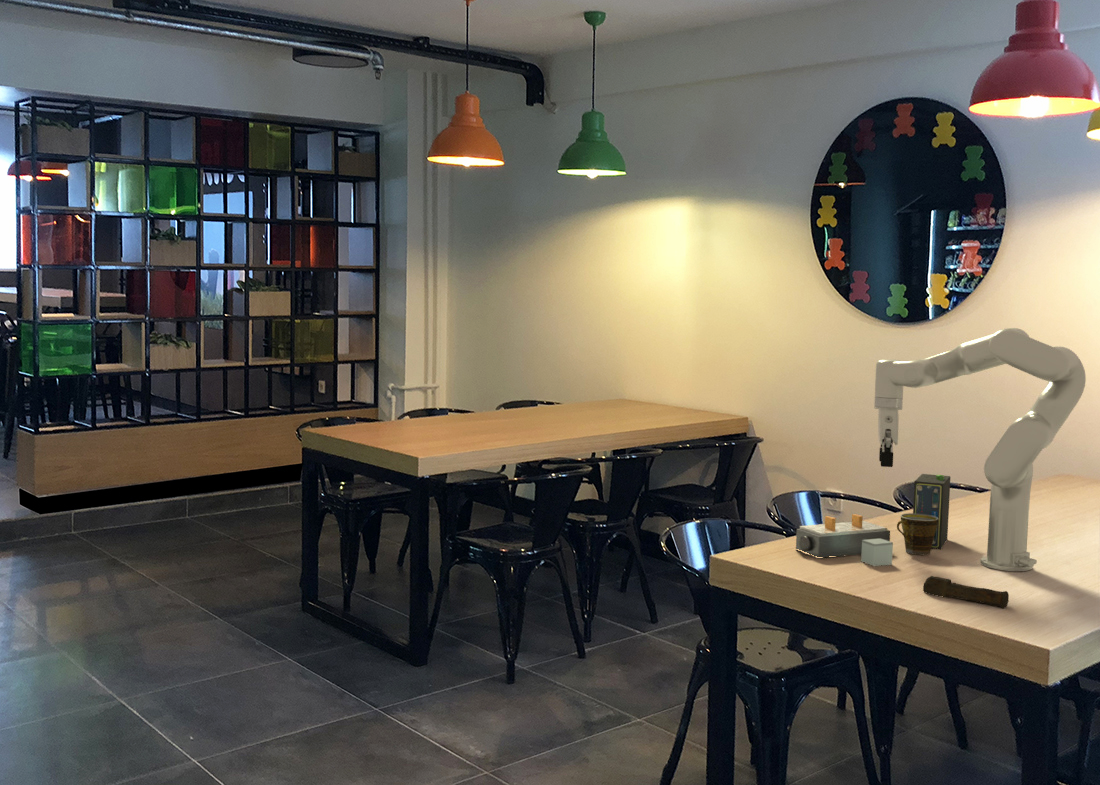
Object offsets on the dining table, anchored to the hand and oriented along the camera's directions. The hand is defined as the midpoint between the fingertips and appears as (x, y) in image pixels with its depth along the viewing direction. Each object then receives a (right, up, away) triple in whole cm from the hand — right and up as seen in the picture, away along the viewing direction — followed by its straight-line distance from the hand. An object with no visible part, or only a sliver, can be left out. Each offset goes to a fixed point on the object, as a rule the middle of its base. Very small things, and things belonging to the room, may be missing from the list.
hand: (885, 464), depth 289 cm
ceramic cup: (+7, -25, -4) cm, 26 cm away
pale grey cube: (-8, -25, -16) cm, 31 cm away
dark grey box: (+16, -24, +8) cm, 30 cm away
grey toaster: (-13, -24, -3) cm, 28 cm away
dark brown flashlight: (+2, -29, -50) cm, 58 cm away
